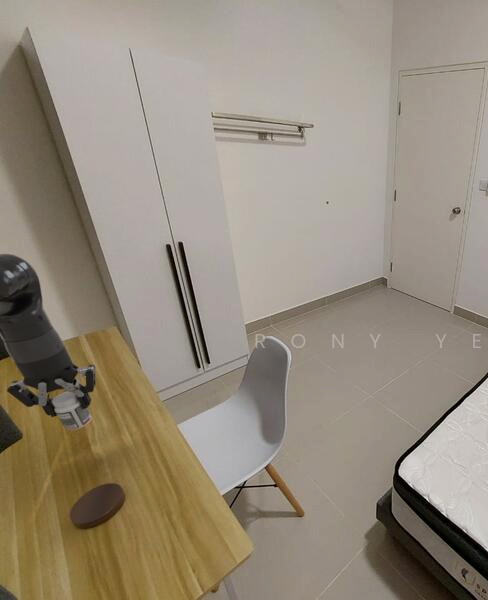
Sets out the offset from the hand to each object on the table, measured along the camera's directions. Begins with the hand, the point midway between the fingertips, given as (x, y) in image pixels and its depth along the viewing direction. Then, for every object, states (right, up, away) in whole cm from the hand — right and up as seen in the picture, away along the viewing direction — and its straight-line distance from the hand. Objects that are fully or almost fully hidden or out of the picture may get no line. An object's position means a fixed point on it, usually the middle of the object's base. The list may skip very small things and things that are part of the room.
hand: (71, 409), depth 75 cm
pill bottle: (0, -4, +2) cm, 5 cm away
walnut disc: (+8, -22, -1) cm, 23 cm away
